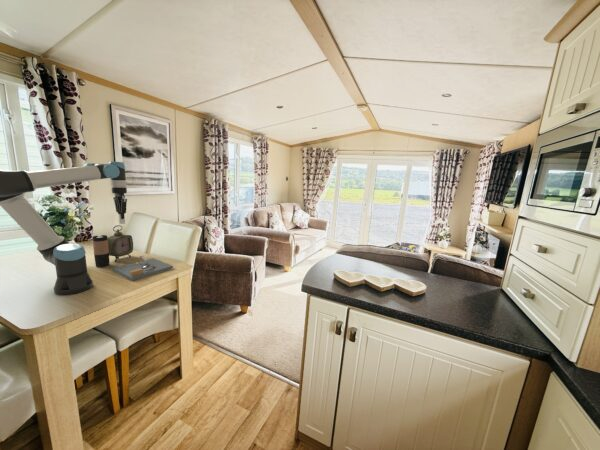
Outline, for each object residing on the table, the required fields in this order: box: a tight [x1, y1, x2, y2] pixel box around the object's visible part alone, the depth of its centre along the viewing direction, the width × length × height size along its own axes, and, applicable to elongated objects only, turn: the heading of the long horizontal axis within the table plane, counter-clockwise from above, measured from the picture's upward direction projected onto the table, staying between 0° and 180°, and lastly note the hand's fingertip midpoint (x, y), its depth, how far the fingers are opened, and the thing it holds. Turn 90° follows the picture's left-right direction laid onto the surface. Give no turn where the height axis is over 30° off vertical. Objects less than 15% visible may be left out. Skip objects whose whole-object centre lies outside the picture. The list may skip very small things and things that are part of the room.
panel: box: [112, 257, 174, 282], centre depth 156 cm, size 25×24×2 cm
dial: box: [139, 255, 153, 269], centre depth 156 cm, size 15×6×5 cm, turn 50°
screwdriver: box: [129, 267, 153, 276], centre depth 146 cm, size 12×3×3 cm, turn 149°
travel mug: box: [92, 234, 111, 268], centre depth 157 cm, size 8×8×20 cm
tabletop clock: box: [107, 224, 134, 263], centre depth 169 cm, size 14×9×25 cm, turn 168°
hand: (122, 223), depth 153 cm, fingers closed
